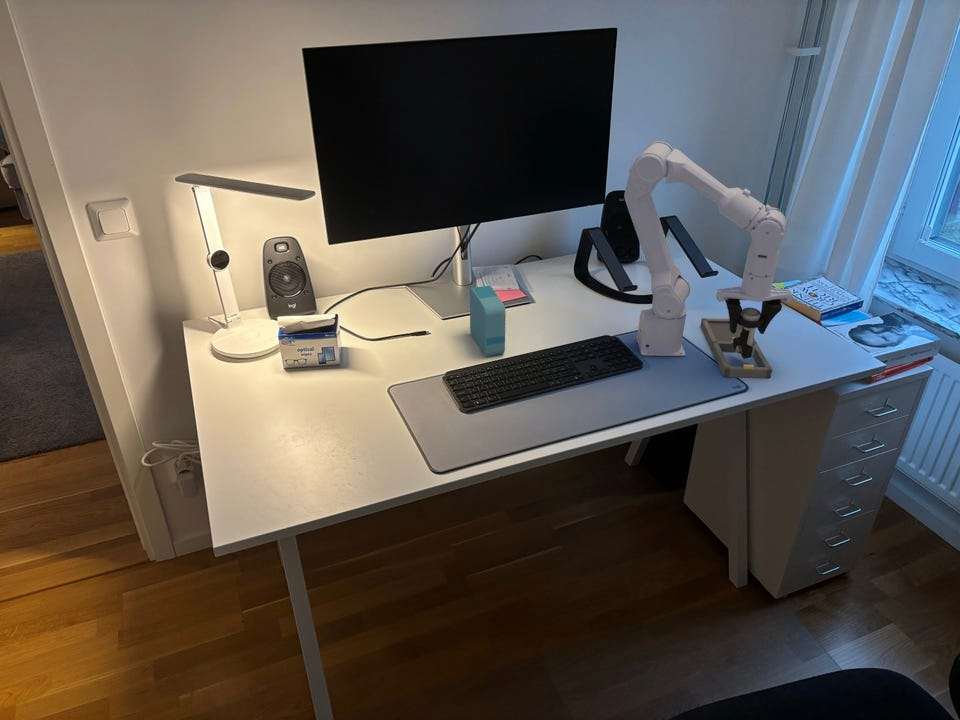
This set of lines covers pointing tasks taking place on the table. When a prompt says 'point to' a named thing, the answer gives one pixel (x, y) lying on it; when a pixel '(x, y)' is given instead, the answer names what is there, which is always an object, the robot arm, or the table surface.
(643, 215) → the robot arm
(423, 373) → the table surface
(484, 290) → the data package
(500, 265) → the table surface
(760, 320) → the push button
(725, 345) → the shallow brown tray
